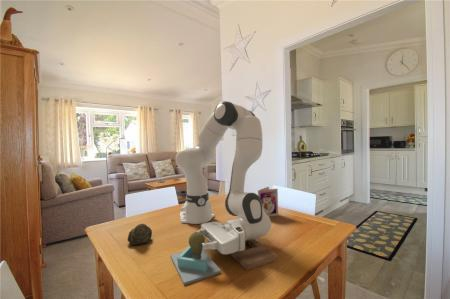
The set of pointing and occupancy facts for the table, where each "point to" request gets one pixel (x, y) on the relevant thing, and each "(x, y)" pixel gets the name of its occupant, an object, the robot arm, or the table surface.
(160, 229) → the table surface
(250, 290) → the table surface
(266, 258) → the wooden board with hole
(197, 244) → the light bulb
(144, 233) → the seashell
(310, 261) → the table surface
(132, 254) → the table surface
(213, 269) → the V-block
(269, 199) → the greeting card
